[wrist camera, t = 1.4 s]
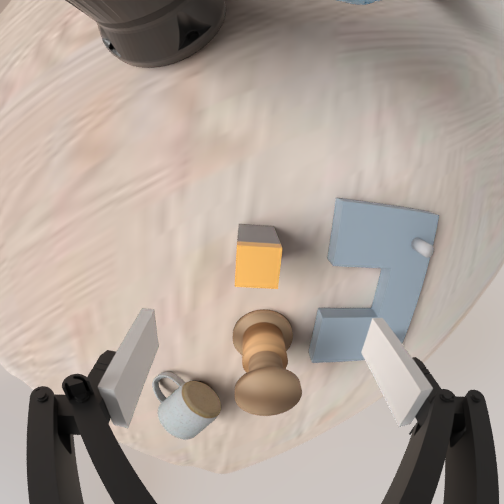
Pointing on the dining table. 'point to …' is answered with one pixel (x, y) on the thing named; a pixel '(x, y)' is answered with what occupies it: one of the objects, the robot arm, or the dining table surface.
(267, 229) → the orange and grey block
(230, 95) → the dining table surface
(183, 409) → the ceramic mug
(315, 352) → the board
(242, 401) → the bobbin
